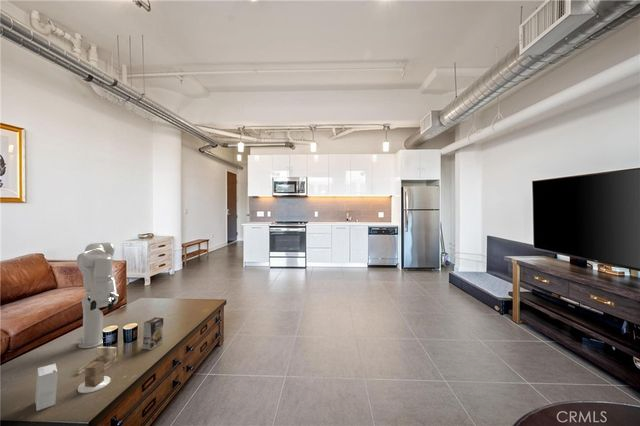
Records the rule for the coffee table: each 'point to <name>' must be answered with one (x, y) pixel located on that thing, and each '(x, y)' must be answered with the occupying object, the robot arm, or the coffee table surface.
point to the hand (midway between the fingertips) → (101, 309)
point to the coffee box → (153, 333)
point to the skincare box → (46, 386)
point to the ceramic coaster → (92, 389)
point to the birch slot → (103, 357)
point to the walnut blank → (94, 374)
